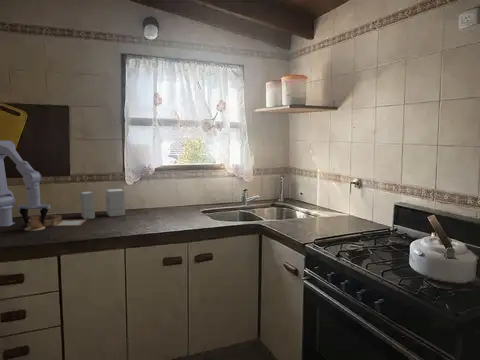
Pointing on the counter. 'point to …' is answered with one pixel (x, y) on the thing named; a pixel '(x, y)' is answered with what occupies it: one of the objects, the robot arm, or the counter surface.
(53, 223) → the cold frame
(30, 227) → the trivet
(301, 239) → the counter surface
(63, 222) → the lid
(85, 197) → the skincare box
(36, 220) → the pot
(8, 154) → the robot arm
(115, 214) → the supplement box
